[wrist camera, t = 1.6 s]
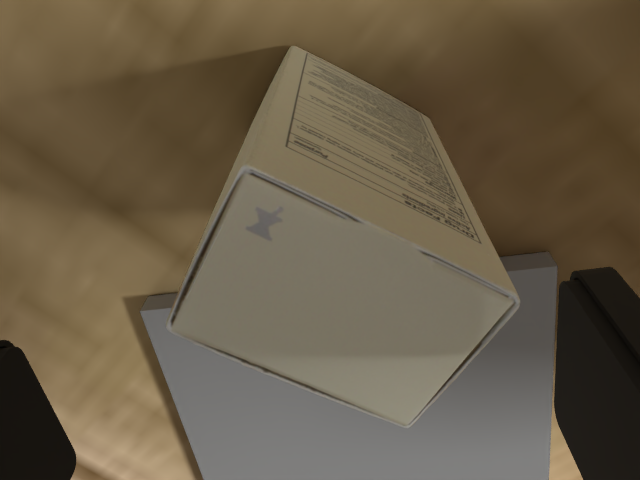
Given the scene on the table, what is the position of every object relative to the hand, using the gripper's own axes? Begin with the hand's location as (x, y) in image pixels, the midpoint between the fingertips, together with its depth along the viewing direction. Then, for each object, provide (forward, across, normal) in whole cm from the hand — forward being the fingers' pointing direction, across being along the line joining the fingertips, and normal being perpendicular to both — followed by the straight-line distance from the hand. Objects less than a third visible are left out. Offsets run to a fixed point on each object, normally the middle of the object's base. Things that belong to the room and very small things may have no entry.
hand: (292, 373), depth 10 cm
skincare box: (+14, -1, 0) cm, 14 cm away
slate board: (+14, 0, +14) cm, 20 cm away
